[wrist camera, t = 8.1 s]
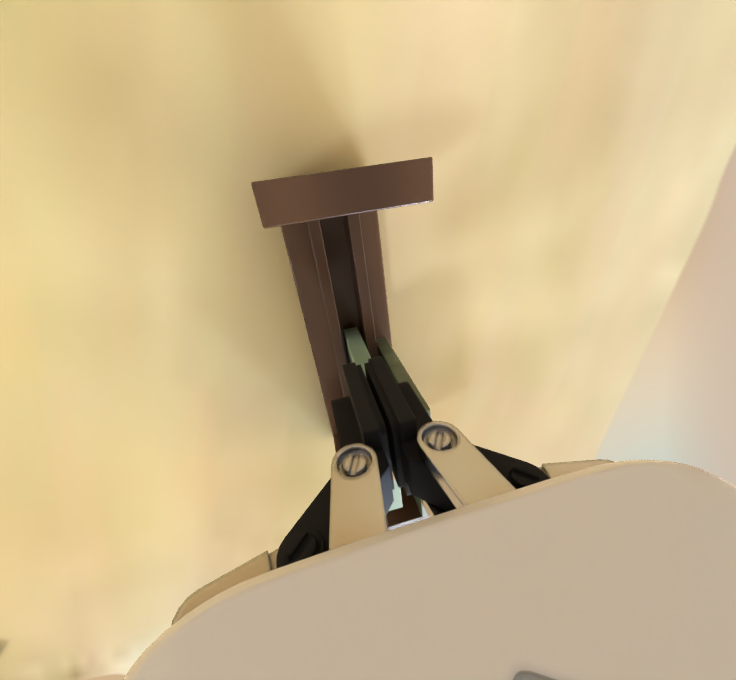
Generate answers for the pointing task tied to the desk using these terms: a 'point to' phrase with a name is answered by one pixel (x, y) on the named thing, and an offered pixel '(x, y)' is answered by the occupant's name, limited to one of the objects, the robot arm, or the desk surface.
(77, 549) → the desk surface
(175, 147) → the desk surface
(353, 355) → the sliding pane
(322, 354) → the window frame
